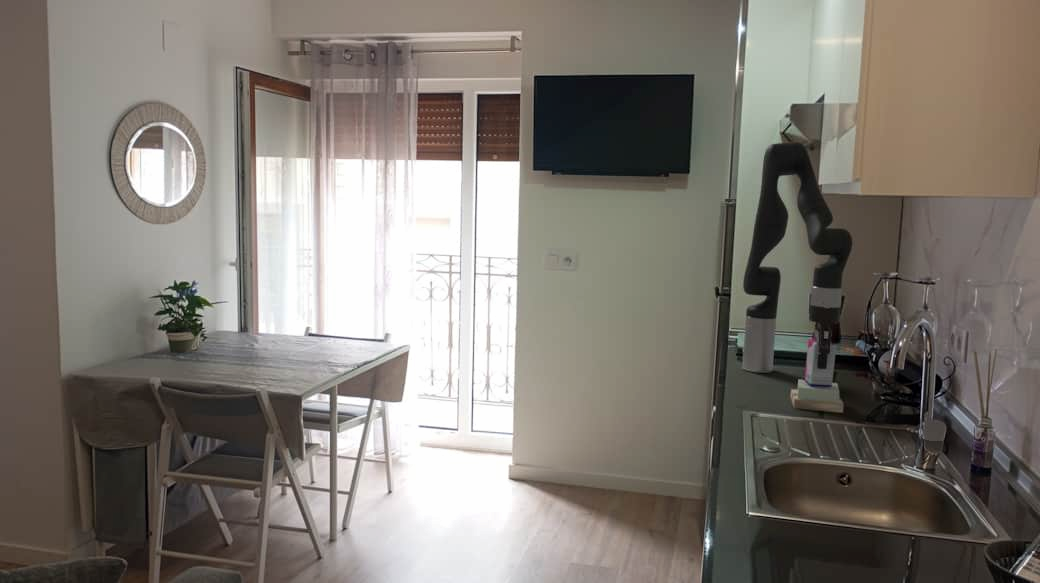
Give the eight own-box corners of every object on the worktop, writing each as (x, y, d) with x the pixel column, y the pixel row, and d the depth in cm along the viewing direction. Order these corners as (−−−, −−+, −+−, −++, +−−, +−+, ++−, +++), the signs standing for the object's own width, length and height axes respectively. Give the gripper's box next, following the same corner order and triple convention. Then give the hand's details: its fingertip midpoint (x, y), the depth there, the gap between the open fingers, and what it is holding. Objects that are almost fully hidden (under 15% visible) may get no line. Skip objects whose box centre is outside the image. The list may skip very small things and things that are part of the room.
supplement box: (832, 387, 205) (836, 345, 203) (809, 386, 205) (813, 344, 203) (825, 380, 211) (829, 339, 209) (803, 380, 211) (807, 338, 209)
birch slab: (790, 399, 216) (791, 388, 216) (836, 403, 213) (837, 393, 213) (793, 410, 204) (794, 399, 204) (842, 415, 201) (843, 404, 201)
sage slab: (797, 389, 215) (798, 379, 214) (836, 394, 211) (837, 383, 211) (797, 398, 205) (798, 387, 205) (838, 403, 202) (839, 391, 202)
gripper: (807, 299, 213) (802, 359, 215) (813, 306, 199) (807, 370, 201) (836, 301, 211) (831, 361, 213) (844, 308, 197) (838, 372, 199)
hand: (820, 365), depth 207 cm, fingers open, 7 cm apart
